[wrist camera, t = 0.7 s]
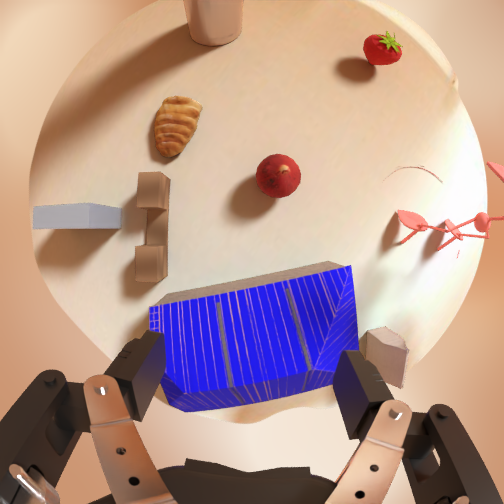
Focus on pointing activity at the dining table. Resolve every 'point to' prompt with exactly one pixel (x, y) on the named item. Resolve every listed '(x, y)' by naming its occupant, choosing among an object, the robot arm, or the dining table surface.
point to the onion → (278, 176)
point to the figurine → (419, 223)
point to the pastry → (176, 124)
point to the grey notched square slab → (76, 216)
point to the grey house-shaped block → (387, 355)
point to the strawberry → (382, 49)
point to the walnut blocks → (153, 227)
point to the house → (256, 336)
